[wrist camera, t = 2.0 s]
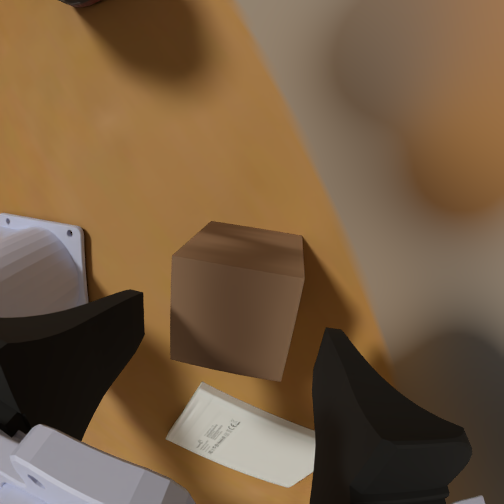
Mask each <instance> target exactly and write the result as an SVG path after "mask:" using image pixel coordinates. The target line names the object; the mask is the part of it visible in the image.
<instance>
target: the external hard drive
mask: <svg viewBox="0 0 504 504" xmlns="http://www.w3.org/2000/svg"><path fill="white" fill-rule="evenodd" d="M166 439H167V440H169V441H171V442H173V443H174V444H177V445H179V446H181V447H183V448H185V449H187V450H189V451H191V452H194V453H196V454H198V455H200V456H202V457H205V458H207V459H209V460H212V461H214V462H216V463H219V464H221V465H224V466H226V467H229V468H231V469H234V470H236V471H239V472H242V473H244V474H247V475H250V476H253V477H256V478H259V479H262V480H265V481H268V482H271V483H274V484H277V485H280V486H284V487H291V486H293V485H294V484H296V483H297V482H299V481H300V480H302V479H303V478H305V477H306V476H308V475H309V474H310V473H312V472H313V471H314V459H315V431H314V430H311V429H308V428H306V427H303V426H301V425H298V424H295V423H293V422H290V421H288V420H285V419H283V418H280V417H278V416H275V415H273V414H270V413H268V412H266V411H263V410H261V409H259V408H257V407H254V406H252V405H250V404H248V403H245V402H243V401H241V400H239V399H237V398H234V397H232V396H230V395H228V394H226V393H224V392H222V391H220V390H218V389H216V388H214V387H212V386H210V385H208V384H206V383H204V382H201V384H200V385H199V387H198V389H197V390H196V392H195V393H194V395H193V396H192V398H191V399H190V401H189V402H188V404H187V405H186V407H185V409H184V411H183V412H182V414H181V415H180V416H179V417H178V419H177V420H176V422H175V423H174V425H173V426H172V428H171V429H170V431H169V432H168V434H167V436H166Z"/></svg>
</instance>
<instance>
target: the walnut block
mask: <svg viewBox="0 0 504 504" xmlns="http://www.w3.org/2000/svg"><path fill="white" fill-rule="evenodd" d="M304 280H305V274H304V257H303V242H302V236H301V235H295V234H289V233H283V232H277V231H271V230H265V229H258V228H252V227H246V226H240V225H233V224H227V223H221V222H214V221H211V222H210V223H209V224H207V225H206V226H205V227H204V228H203V229H202V230H201V231H199V232H198V233H197V234H196V235H195V236H194V237H193V238H191V239H190V240H189V241H188V242H187V243H186V244H185V245H183V246H182V247H181V248H180V249H179V250H178V251H177V252H176V253H174V254H173V255H172V272H171V313H170V355H171V359H172V360H176V361H180V362H184V363H188V364H192V365H196V366H201V367H205V368H209V369H214V370H219V371H224V372H228V373H233V374H239V375H244V376H249V377H255V378H261V379H266V380H273V381H279V382H281V379H282V375H283V371H284V367H285V363H286V359H287V355H288V351H289V347H290V343H291V338H292V334H293V330H294V326H295V321H296V317H297V312H298V308H299V303H300V299H301V294H302V289H303V285H304Z"/></svg>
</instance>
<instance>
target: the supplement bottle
mask: <svg viewBox="0 0 504 504" xmlns="http://www.w3.org/2000/svg"><path fill="white" fill-rule="evenodd" d="M59 1H61V2H63V3H66V4H68V5H71V6H74V7H85V6H89V5H92V4H94V3H97V2H99V1H100V0H59Z"/></svg>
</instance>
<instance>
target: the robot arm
mask: <svg viewBox="0 0 504 504" xmlns="http://www.w3.org/2000/svg"><path fill="white" fill-rule="evenodd" d="M70 230H71V231H72V235H71V233H70ZM144 335H145V333H144V307H143V292H139V291H135V290H131V289H129V290H125V291H122V292H118V293H115V294H112V295H110V296H107V297H104V298H101V299H98V300H96V301H93V302H90V303H89V302H88V292H87V281H86V268H85V251H84V232H83V230H82V228H81V227H79V226H75V225H70V224H64V223H58V222H53V221H47V220H41V219H36V218H30V217H24V216H19V215H13V214H7V213H1V214H0V504H196V503H195V502H194V500H193V499H192V497H191V495H190V494H189V492H188V491H187V490H186V489H185V488H184V487H182V486H181V485H179V484H178V483H176V482H175V481H173V480H172V479H170V478H169V477H166V476H164V475H162V474H159V473H157V472H155V471H152V470H150V469H148V468H145V467H142V466H140V465H137V464H134V463H131V462H129V461H126V460H123V459H121V458H118V457H116V456H113V455H111V454H108V453H106V452H104V451H101V450H99V449H97V448H94V447H92V446H90V445H88V444H86V443H84V442H81V441H82V438H83V436H84V433H85V431H86V429H87V427H88V425H89V423H90V421H91V419H92V417H93V415H94V413H95V411H96V409H97V407H98V405H99V403H100V402H101V400H102V398H103V396H104V395H105V393H106V392H107V390H108V389H109V387H110V386H111V385H112V383H113V382H114V381H115V379H116V378H117V377H118V375H119V374H120V373H121V371H122V370H123V369H124V367H125V366H126V365H127V363H128V362H129V360H130V359H131V358H132V356H133V355H134V354H135V352H136V350H137V348H138V347H139V345H140V343H141V341H142V339H143V337H144ZM312 397H313V411H314V425H315V459H314V471H313V480H312V489H311V496H310V504H446V502H445V498H447V497H448V496H449V490H448V486H447V485H448V484H449V483H450V482H451V481H452V480H453V479H454V478H455V477H456V476H457V475H458V474H459V473H460V472H461V471H462V470H463V469H464V467H465V466H466V465H467V463H468V462H469V460H470V458H471V455H472V447H471V445H470V442H469V440H468V438H467V436H466V433H465V431H464V428H463V427H460V426H458V425H456V424H453V423H451V422H448V421H446V420H444V419H441V418H439V417H437V416H435V415H434V414H432V413H430V412H428V411H426V410H424V409H423V408H421V407H419V406H418V405H416V404H415V403H413V402H412V401H410V400H409V399H408V398H406V397H405V396H403V395H402V394H401V393H399V392H398V391H397V390H396V389H395V388H393V387H392V386H391V385H390V384H389V383H388V382H386V381H385V380H384V379H383V378H382V377H381V376H380V375H379V374H378V373H377V372H376V371H375V370H374V369H373V368H372V367H371V365H370V364H369V363H368V362H367V361H366V360H365V359H364V357H363V356H362V355H361V354H360V353H359V351H358V350H357V349H356V348H355V346H354V345H353V344H352V342H351V341H350V340H349V339H348V337H347V336H346V335H345V333H344V332H343V331H342V330H340V329H333V328H326V329H325V332H324V336H323V339H322V342H321V346H320V349H319V353H318V356H317V359H316V362H315V366H314V369H313V383H312ZM452 504H485V502H484V499H483V496H477V497H473V498H469V499H464V500H460V501H457V502H454V503H452Z"/></svg>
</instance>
